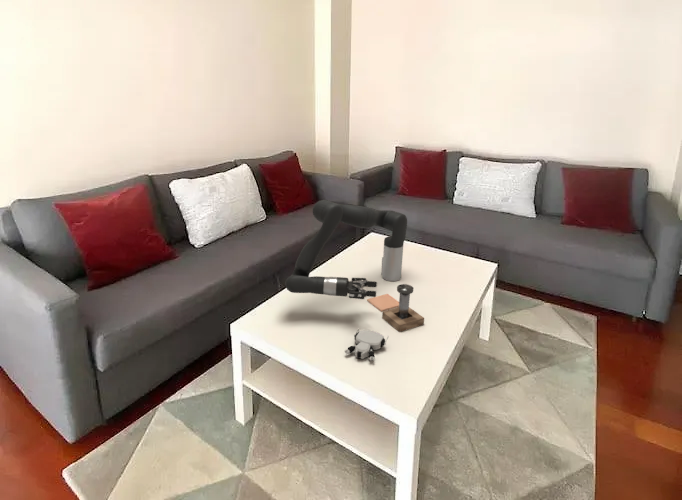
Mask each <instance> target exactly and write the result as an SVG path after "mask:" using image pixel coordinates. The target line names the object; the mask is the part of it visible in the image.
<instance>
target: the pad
mask: <svg viewBox="0 0 682 500" xmlns="http://www.w3.org/2000/svg"><path fill="white" fill-rule="evenodd" d="M366 301H367V302H368V303H369V304H370V305H372V307H375V308H376V309H377V310H378V311H379V312H381V313H383V311H387V310H390V309H394V308H397V307H399V300H397V299H396V298H394V297H393V296H392V295H390V294H389V293H385V294H382V295H376V297H370V298H367V299H366Z"/></svg>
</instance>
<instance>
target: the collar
mask: <svg viewBox="0 0 682 500" xmlns="http://www.w3.org/2000/svg"><path fill="white" fill-rule="evenodd" d="M398 311H399V307H396V308H393V309H389V310H386V311H382V312H381V313H382V314H381V315H382V316H381V317H382V320H384V321H385V322H386V323H388V324H389V325H390V326H391V327H393V328H394V329H395V330H397V332H399V333H402V332H404V331H407V330H410V329H414V328H417V327H420V326H423V325H424V324H425V317H424V316H423V315H421V314H419V313H418V312H417V311H415V309H412V308H411V307H410V306H409V312H408V318H406V319H400V318H399V317H398Z"/></svg>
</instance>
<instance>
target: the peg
mask: <svg viewBox="0 0 682 500" xmlns="http://www.w3.org/2000/svg"><path fill="white" fill-rule="evenodd" d="M396 291H397V292H398V294H399V300H398V302H399V311H398V317H399V318H400V319H406V318H408V312H409V307H410V297H411V295H412V294H413V293H414V287H413V285H410V284H407V283H403V284H398V285H397V287H396Z"/></svg>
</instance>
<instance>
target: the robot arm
mask: <svg viewBox="0 0 682 500" xmlns="http://www.w3.org/2000/svg"><path fill="white" fill-rule="evenodd" d="M312 215H313V217H314V219H316V220H317V222H320V223H322V225H321V226H320V229H319V230H318V231H317V233H316V234H315V235H314V236H313V237H312V238H311V239H310V240H308V242H307V243H306V244H305V245H304V246H303V247H302V249H301V251H300V253H299V255H298V257H297V259H296V261H295V267H294V269H293V271H292V274H291V275H290V276H288V277H287V278H286V279H285V283H284V284H285V288H286V290H287V291H289V292H290V293H292V294H293V293H295V294H315V295H325V296H330V297H331V296H332V297H333V296H334V297H348V298H350V299H355V300H356V299H357V300H365V298H367V297H370V298H373V297H377V290H366V289H364V288H365V287H368V288H377V286H378V282H377V281H372V280H370V281H369V280H368V279H367V278H366V277H351V280H349V278H348V277H344V276H342V277H341V276H315V275H314V276H310V273H311V271H312V270H313V267H314V265H315V263H316V261H317V259H318V258H319V255H320V253H321V251H322V250H323V248H324V247H325V245H326V243H327V242H328V241H329V239H330V238H331V236H332V235H333V233H334V232H335V230H336V229H337V228H338V226H339V224H340V223H343V224H345V225H348V226H352V227H355V228H362V229H370V228H372V227H375V226H376V227H380V228H383V229H384V230H388V231H391V232H392V233H391V235H389V236H386V237H384V240H383V255H382V257H381V258H382V259H381V272H380V273H381V274H380V275H381V278H382V279H383V280H386V281H389V282H397V281H400V280H401V279H402V271H403V270H402V268H403V255H404V254H403V253H404V243H405V240H406V237H407V235H406V234H407V227H408V217H407V216H406V214H404V213H401V212H398V211H394V210H391V209H389V210H382V209H381V210H378V209H376V208H373V207H369V206H363V205H353V204H340V203H336V202H333V201H330V200H328V199H321V200H319V201H317V202H316V203H314V206H313V207H312Z"/></svg>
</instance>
